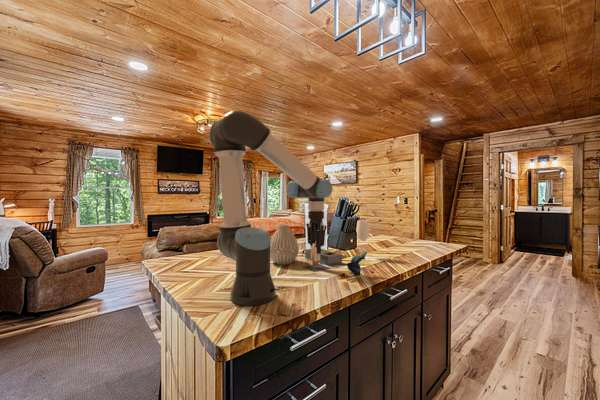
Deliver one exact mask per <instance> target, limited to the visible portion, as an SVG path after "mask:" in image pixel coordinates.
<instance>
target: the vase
mask: <svg viewBox="0 0 600 400" xmlns="http://www.w3.org/2000/svg"><path fill="white" fill-rule="evenodd" d="M270 242H271V243H270V261H272V262H273V263H274V264H276V265H281V266H282V265H285V266H286V265H290V264H293V262H295V260H296V259H297V258H298V255H299V249H300V248H299V242H298V240H297V238H296V236H295V234H294V233H293V232H292V230H291V229H290V226H289V224H287V223H282V224H278V225H277V227H276V230H275V231H274V233H273V234H272V236H271V237H270Z"/></svg>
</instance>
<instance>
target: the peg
mask: <svg viewBox="0 0 600 400" xmlns="http://www.w3.org/2000/svg"><path fill="white" fill-rule="evenodd" d="M315 246H316V243H313V254H312V260H311V263H312V264H311V265H319V264H320V263H319V261H315Z"/></svg>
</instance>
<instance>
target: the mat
mask: <svg viewBox="0 0 600 400" xmlns="http://www.w3.org/2000/svg"><path fill="white" fill-rule="evenodd" d="M302 268H304V269H306V270H309V271H311V272H313V273H315V272H316V273H317V272H321V271H326V270H331V269H332V268H331V267H330V266H327V265H324V264H321V263H319V265H312V264H311V265H305V266H304V265H303V266H302Z"/></svg>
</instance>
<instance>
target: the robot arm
mask: <svg viewBox="0 0 600 400" xmlns="http://www.w3.org/2000/svg"><path fill="white" fill-rule="evenodd" d="M208 131H209V133H208V138H209V141H210V144H211V145H212V146H213V152H214V153H213V154H214V155H215V157H217V158H218V162H219V163H218V164H219V175H220V189H221V203H222V204H221V205H222V214H223V215H222V216H223V221H222V222H221V223H220V225H219V231H220V233H219V235H218V237H217V242H216V244H217V248H218V250H219V252H220V253H221V254H222V255H223V256H225V257H226V258H227V259H231V260H233V261H235V278H234V281H233V284H232V287H231V291H230V301H231V302H232V303H234V304H236V305H239V306H244V307H245V306H247V307H248V306H249V307H251V306H253V307H254V306H261V305H264V304H267V303H270V302H271V301H273V300H274V299H275V298H276V287H275V284H274V281H273V279H272V275H271V258H270V243H271V242H270V239H271V235H270V232H269V231H268V230H267V229H265V228H261V227H255V226H253V227H252V225H251V224H252V223H251V222H250V221H249V220H248V219H247V206H246V192H245V182H244V181H245V179H244V176H245V175H244V163H243V162H244V161H243V157H244V156H245V154H247V149H246V147H247V148H249V149H250V150H251V151H253V152H258V153H259V154H261V155H262V156H263V157H264V158H265V159H267V160H268V161H269V162H270V163H271V164H273V165H275V166H276V167H277V169H279V170H280V171H281V172H283V173H284V175H286V176H288V177H289V178H290V179H292V180H291V181H289V182H288V183H287V184H286V194H287V196H288V197H289V198H293V199H307V200H308V201H307V203H308V206H307V207H308V208H307V210H309V211H308V213H307V215H308V216H307V218H308V219H309V222H308V223H307V222H306V224H305V225H306V226H305V227H306V233H307V244H309V245H310V249H311V260H310V261H312V254H313V243H316V246H315V261H319V260H320V254H321V249H322V247H324V246H325V238H326V230H327V225H325V224H324V222H323V220H324V219H325V212H324V210H325V199H327V198H329V197H330V196H331V194H332V193H333V184H332V182H331V181H330V180H328V179H324V178H321V177H319V176H318V175H317V174H316V173H315V172H313V171H312V170H311V169H310V168H309V167H308V166H307V165H306V164H304V163H303V162H302V160H300V159H299V158H298V157H297V156H295V155H294V154H293V153H292V152H291V151H290V150H289V149H287V147H286V146H284V145H283V143H281V142H280V141H279V140H278V139H276V138H275V136H273V135H272V133H271V131H272V130H271V129H270V128H269V127H268V126H267V125H265V124H264V123H263V122H262V121H260V120H259V119H258V118H257V117H255V116H254V115H252V114H250V113H248V112H246V111H243V110H232V111H229V112H228V113H226V114H224V116H222V117H221V118H218V119H217V120H215V121H214V122H213V124H211V127H210V129H209V130H208Z"/></svg>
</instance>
